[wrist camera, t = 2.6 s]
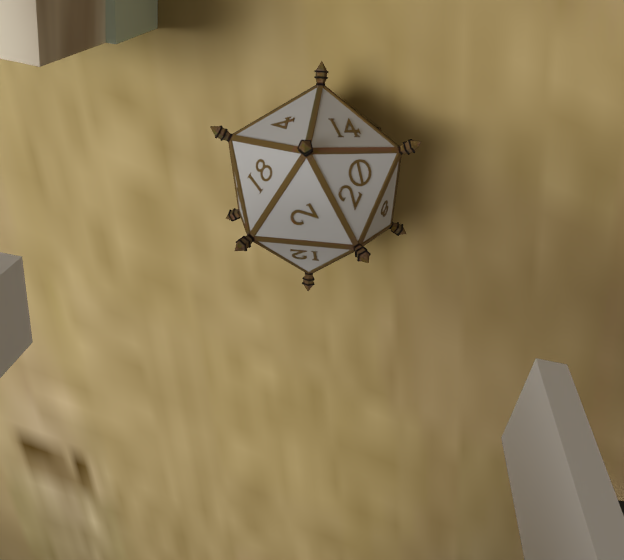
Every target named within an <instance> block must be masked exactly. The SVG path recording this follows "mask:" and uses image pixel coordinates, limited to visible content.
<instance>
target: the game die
mask: <svg viewBox="0 0 624 560" xmlns="http://www.w3.org/2000/svg"><path fill="white" fill-rule="evenodd" d="M315 72H316V77H315V78H316V82H317V83H316V85H315V86H313V87H312V88H310V89H308V90H307V91H305V92H303V93H301V94H300V95H298V96H296V97H295V98H293V99H291V100H290V101H288V102H286V103H284V104H283V105H281V106H279V107H278V108H276V109H274V110H273V111H271V112H269V113H267V114H266V115H264V116H262V117H261V118H259V119H257V120H255V121H254V122H252V123H250V124H249V125H247V126H245V127H244V128H242V129H240V130H238V131H237V132H235V133H233V134H230V133H229V132H228V131H227V129H224V128H222V126H210V127H211V129H212V131H213V133H214V134H215V138H217V137H218V138H220V139H221V141H222V140H226V141H228V142H229V149H230V156H231V163H232V169H233V176H234V183H235V190H236V197H237V204H238V209H235V208H234V209H233V210H229V214H228V215H227V217H226V219H229V220H231V221H235V220H237V219H239V218H240V217H241V219H242V222H243V225H244V228H245V230H246V233H247V236H243V237H242V238H240V239H239V240H238V241H236V243H237V244H236V248H235V251H243V250H244V251H247V248H248V247H249V248H250V247H251V243H252V242H254V243H256V244H258V245H260V246H261V247H263V248H265V249H266V250H268V251H270V252H271V253H273V254H275V255H277V256H278V257H280V258H282V259H283V260H285V261H287V262H288V263H290V264H292V265H294V266H295V267H297V268H299V269H300V270H302V271H304V272H305V276H304V277H303V279H304V280H303V282H302V284H304V286H305V287H306V289H307V291H309V290H310V288H311V287H312V286H313V285H314V282H313V280H314V277H313V273H314V272H316V271H318V270H320V269H322V268H324V267H326V266H328V265H329V264H331V263H333V262H335V261H337V260H339V259H341V258H343V257H345V256H347V255H349V254H351V253H353V252H355V257H357V258H358V261H362V262H366V263H369V256H370V253H369V252H368V251H367V249H366V248H365V247H363V246H364V245H366V244H367V243H369V242H370V241H372V240H373V239H374V238H376V237H377V236H379V235H380V234H382V233H383V232H385V231H386V230H388V229H391V231H392V232H393V233H395V234H396V235H398V236H399V235H402V234H406V232H405V230H404V228H403V224H402V225H400V224H399V222H397V223H394V222H392V220H393V213H394V206H395V198H396V191H397V184H398V177H399V169H400V162H401V155H402V154H406V153H407V154H408V155H409V154H410V153H411V152H413V153H415V150H416V149H417V147H418V146H419V145H420V143H421V142H420V141H414V140H412V139H410V140H408V142H403V144H402V145H401V146H398V145H397V144H396V143H395V142H393V141H392V140H391V139H390V138H389V137H387V136H386V135H385V134H384V133H382V132H381V128H378V127H375V126H374V125H373V124H371V123H370V122H369V121H368V120H367V119H365V118H364V117H363V116H362V115H360V114H359V113H358V112H357V111H356V110H354V109H353V108H352V107H351V106H349V105H348V104H347V103H346V102H345V101H343V100H342V99H341V98H340V97H338V96H337V95H336V94H335V93H334V92H332V91H331V90H330V89H329V88H327V87H326V86H325V81H326V79H328V77H327V73H328V71H327V70H326V68H325V66H324V64H323V62H321V63H320V65H319V66H318V68H317V69H316V71H315Z"/></svg>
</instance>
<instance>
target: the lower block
mask: <svg viewBox="0 0 624 560" xmlns="http://www.w3.org/2000/svg"><path fill="white" fill-rule="evenodd" d="M157 25H158V0H106V43H112V44H118V43H120V42H123V41H126V40H128V39H131V38H133V37H136V36H139V35H141V34H144V33H146V32H149V31H151V30H154V29H157Z"/></svg>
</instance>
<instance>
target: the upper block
mask: <svg viewBox="0 0 624 560" xmlns="http://www.w3.org/2000/svg"><path fill="white" fill-rule="evenodd" d="M103 43H106V0H0V59H5V60H10V61H15V62H19V63H24V64H29V65H34V66H39V67H40V66H43V65H46V64H49V63H51V62H54V61H57V60H60V59H62V58H65V57H68V56H70V55H73V54H76V53H79V52H81V51H84V50H87V49H89V48H92V47H95V46H98V45H100V44H103Z"/></svg>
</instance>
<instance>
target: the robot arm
mask: <svg viewBox="0 0 624 560" xmlns="http://www.w3.org/2000/svg"><path fill="white" fill-rule="evenodd" d="M31 343H32V334H31V326H30V318H29V310H28V302H27V294H26V286H25V278H24V269H23V261H22V257H21V256H16V255H11V254H6V253H1V252H0V378H1V377H2V376H3V374H4V373H5V372H6V371H7V370H8V369H9V368H10V367H11V366H12V365H13V363H14V362H15V361H16V360H17V359H18V358H19V357H20V356H21V355H22V353H23V352H24V351H25V350H26V349H27V348H28V347H29V346H30V345H31ZM502 444H503V449H504V454H505V459H506V465H507V470H508V475H509V480H510V486H511V491H512V496H513V501H514V507H515V512H516V517H517V522H518V528H519V533H520V538H521V543H522V549H523V554H524V559H525V560H624V501H619V500H618V499H617V497H616V494H615V491H614V489H613V486H612V483H611V481H610V478H609V475H608V473H607V470H606V467H605V465H604V462H603V459H602V457H601V454H600V451H599V449H598V446H597V443H596V440H595V438H594V435H593V432H592V430H591V427H590V424H589V422H588V419H587V416H586V414H585V411H584V408H583V406H582V403H581V400H580V398H579V395H578V392H577V390H576V387H575V384H574V382H573V379H572V376H571V374H570V371H569V368H568V366H567V364H562V363H557V362H552V361H547V360H542V359H537V358H536V359H535V362H534V364H533V366H532V369H531V371H530V373H529V375H528V378H527V380H526V382H525V385H524V387H523V389H522V392H521V394H520V396H519V398H518V401H517V403H516V405H515V408H514V410H513V412H512V415H511V417H510V419H509V421H508V424H507V426H506V428H505V431H504V433H503V435H502Z"/></svg>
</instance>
